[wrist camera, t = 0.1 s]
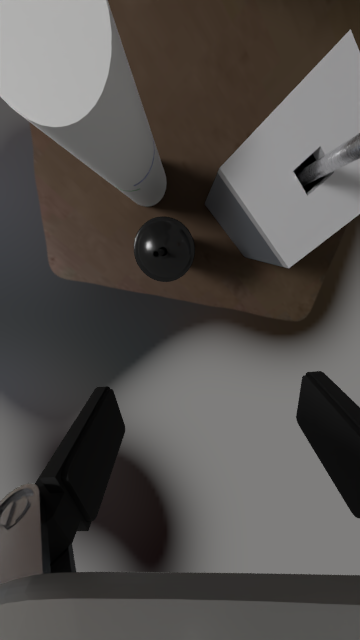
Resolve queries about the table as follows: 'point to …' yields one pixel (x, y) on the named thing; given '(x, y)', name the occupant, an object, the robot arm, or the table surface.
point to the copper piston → (327, 163)
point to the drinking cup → (164, 249)
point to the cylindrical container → (80, 89)
